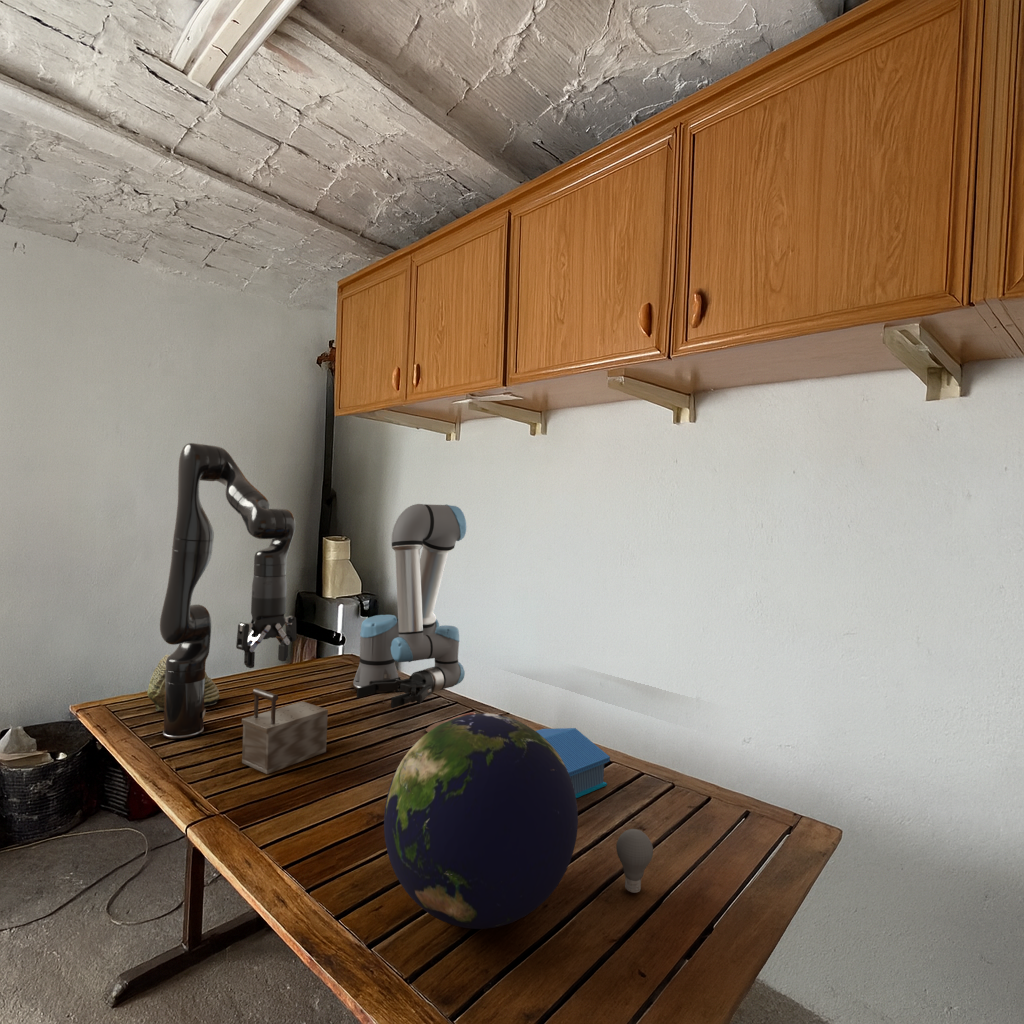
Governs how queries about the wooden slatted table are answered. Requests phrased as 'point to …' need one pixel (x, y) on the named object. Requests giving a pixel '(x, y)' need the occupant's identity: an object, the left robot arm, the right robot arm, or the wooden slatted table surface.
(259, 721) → the lid
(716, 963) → the wooden slatted table surface
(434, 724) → the anatomical model
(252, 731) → the chest
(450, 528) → the right robot arm
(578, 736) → the model building
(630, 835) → the light bulb
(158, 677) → the fossil
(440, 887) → the globe
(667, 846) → the wooden slatted table surface
